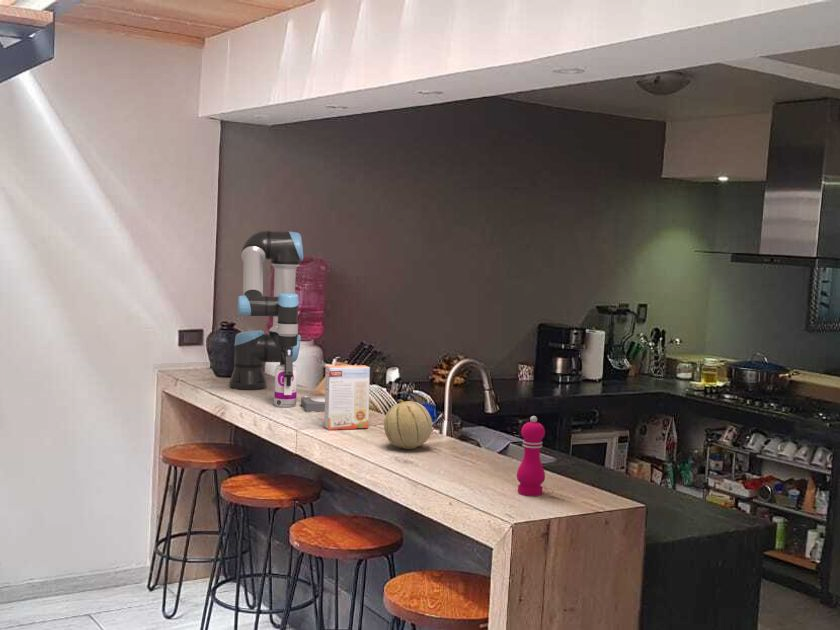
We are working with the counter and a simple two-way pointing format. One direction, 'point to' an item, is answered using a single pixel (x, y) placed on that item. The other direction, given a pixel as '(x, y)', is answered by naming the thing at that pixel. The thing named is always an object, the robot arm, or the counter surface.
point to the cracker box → (346, 397)
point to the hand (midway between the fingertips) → (285, 391)
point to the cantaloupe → (407, 424)
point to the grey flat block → (313, 403)
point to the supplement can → (279, 396)
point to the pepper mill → (531, 459)
